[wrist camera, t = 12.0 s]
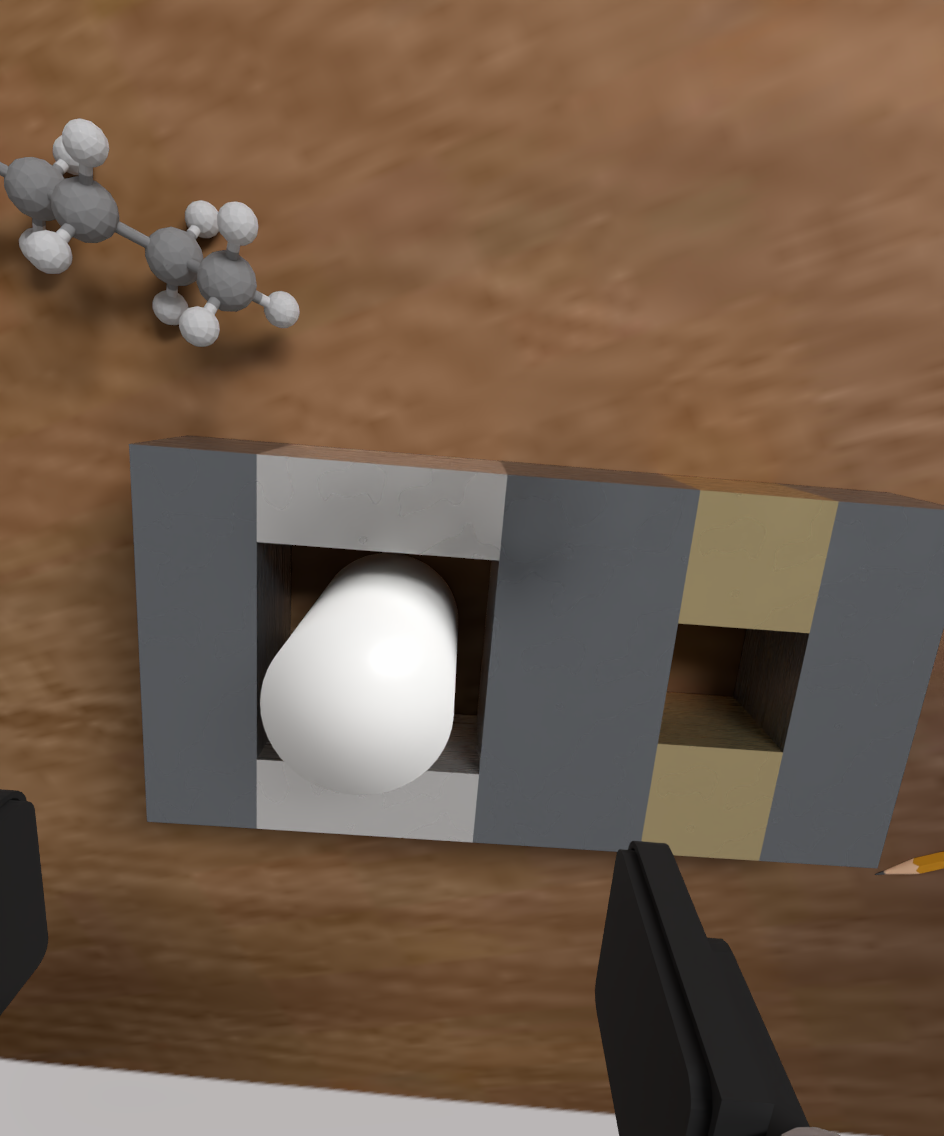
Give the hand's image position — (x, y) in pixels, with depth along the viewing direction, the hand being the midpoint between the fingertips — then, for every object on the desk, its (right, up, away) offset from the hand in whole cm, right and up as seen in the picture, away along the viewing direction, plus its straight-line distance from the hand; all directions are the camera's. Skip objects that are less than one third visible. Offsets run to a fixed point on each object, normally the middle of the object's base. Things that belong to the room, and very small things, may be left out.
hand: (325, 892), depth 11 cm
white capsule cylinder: (-1, +3, +13) cm, 14 cm away
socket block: (+4, +3, +13) cm, 14 cm away
